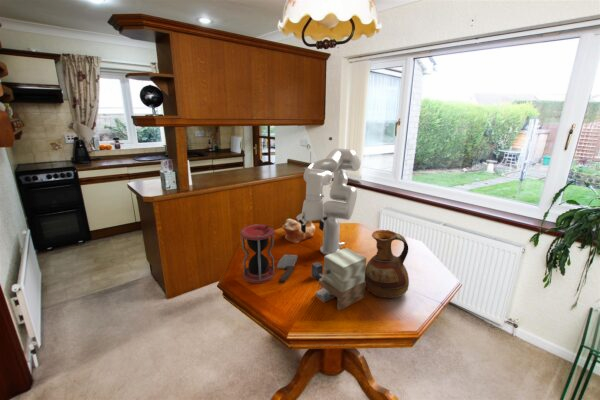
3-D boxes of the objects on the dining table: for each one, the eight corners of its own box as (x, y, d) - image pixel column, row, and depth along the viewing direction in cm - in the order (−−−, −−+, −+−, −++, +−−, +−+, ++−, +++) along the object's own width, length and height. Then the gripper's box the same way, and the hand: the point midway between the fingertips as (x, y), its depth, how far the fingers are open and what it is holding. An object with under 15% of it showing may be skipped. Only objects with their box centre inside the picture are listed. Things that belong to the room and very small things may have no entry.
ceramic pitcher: (360, 278, 147) (364, 223, 138) (400, 279, 147) (407, 224, 138) (367, 302, 129) (373, 241, 120) (413, 303, 128) (422, 242, 119)
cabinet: (343, 282, 143) (345, 246, 137) (364, 297, 132) (368, 258, 126) (318, 294, 134) (319, 255, 128) (339, 310, 123) (341, 269, 117)
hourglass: (276, 281, 144) (275, 235, 136) (243, 285, 141) (241, 238, 133) (272, 265, 159) (271, 222, 151) (242, 268, 156) (240, 225, 148)
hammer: (317, 273, 151) (317, 261, 149) (347, 295, 134) (348, 282, 132) (311, 276, 149) (311, 264, 146) (341, 298, 132) (342, 285, 130)
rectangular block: (325, 291, 137) (325, 287, 136) (334, 298, 132) (334, 293, 131) (315, 296, 133) (315, 291, 132) (324, 303, 129) (324, 298, 128)
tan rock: (277, 239, 190) (276, 218, 186) (305, 229, 207) (306, 209, 203) (290, 246, 181) (290, 224, 176) (319, 235, 198) (320, 214, 193)
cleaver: (289, 284, 142) (289, 280, 141) (269, 282, 143) (269, 278, 143) (298, 256, 170) (298, 253, 169) (282, 255, 171) (282, 251, 171)
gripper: (326, 194, 146) (324, 226, 150) (294, 197, 139) (293, 230, 143) (333, 198, 139) (331, 231, 143) (300, 201, 132) (299, 235, 137)
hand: (312, 230), depth 143 cm, fingers open, 9 cm apart
